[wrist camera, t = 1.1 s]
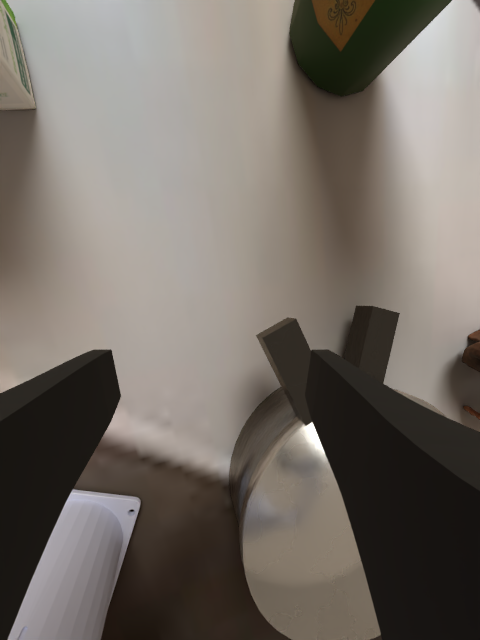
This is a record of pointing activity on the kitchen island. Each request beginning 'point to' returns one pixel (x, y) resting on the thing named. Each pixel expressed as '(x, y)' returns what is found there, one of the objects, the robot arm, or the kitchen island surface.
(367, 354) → the cooker pot
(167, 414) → the kitchen island surface
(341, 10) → the bottle
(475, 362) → the pottery mug
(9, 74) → the syrup box
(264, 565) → the cooker lid
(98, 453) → the kitchen island surface
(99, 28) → the kitchen island surface
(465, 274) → the kitchen island surface
